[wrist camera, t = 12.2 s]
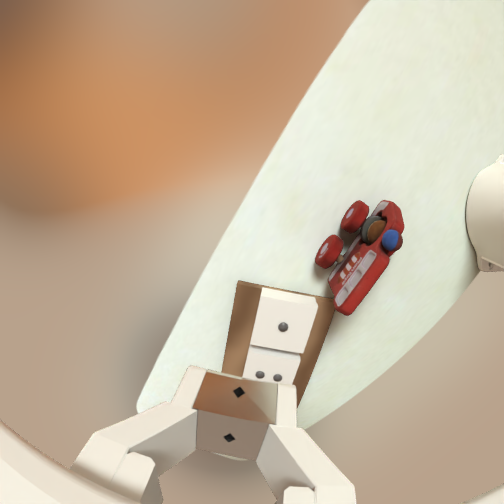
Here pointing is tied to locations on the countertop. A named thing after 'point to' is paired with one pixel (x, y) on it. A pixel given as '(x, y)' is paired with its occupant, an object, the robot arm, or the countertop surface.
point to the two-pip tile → (271, 365)
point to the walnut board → (244, 325)
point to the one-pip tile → (283, 320)
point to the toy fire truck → (361, 252)
